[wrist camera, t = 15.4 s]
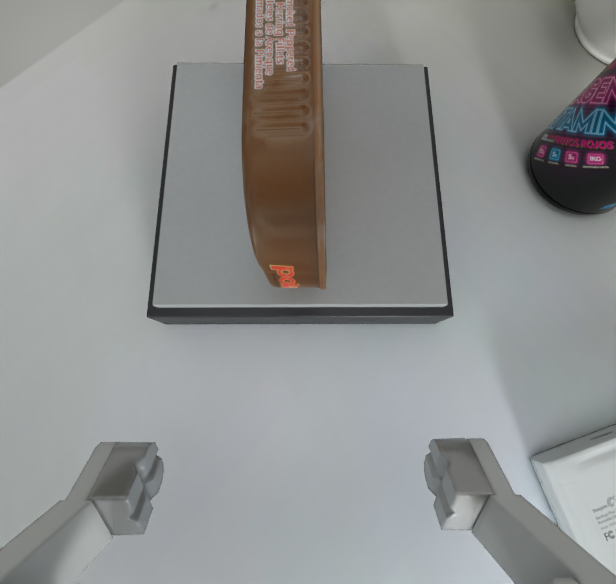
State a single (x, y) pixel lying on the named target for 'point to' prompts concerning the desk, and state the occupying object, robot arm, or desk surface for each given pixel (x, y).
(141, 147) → the desk surface
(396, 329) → the desk surface
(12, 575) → the robot arm
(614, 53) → the lidded bowl
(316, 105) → the tin
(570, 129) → the supplement container
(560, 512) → the hard drive
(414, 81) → the scale
